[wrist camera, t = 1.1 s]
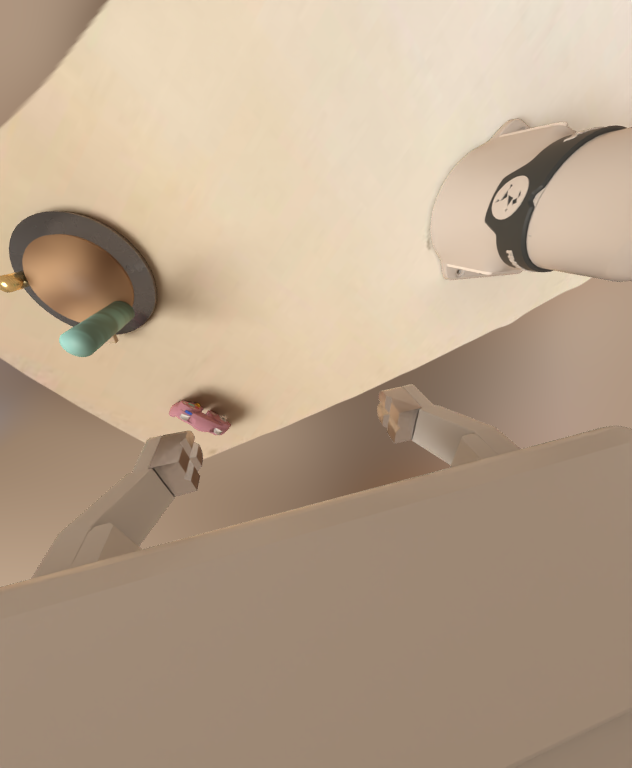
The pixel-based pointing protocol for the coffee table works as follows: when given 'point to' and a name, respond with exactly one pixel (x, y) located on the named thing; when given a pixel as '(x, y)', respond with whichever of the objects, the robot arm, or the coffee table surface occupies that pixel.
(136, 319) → the base plate
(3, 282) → the gold knob
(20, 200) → the coffee table surface
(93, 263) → the teal arcade joystick
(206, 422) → the video game controller
